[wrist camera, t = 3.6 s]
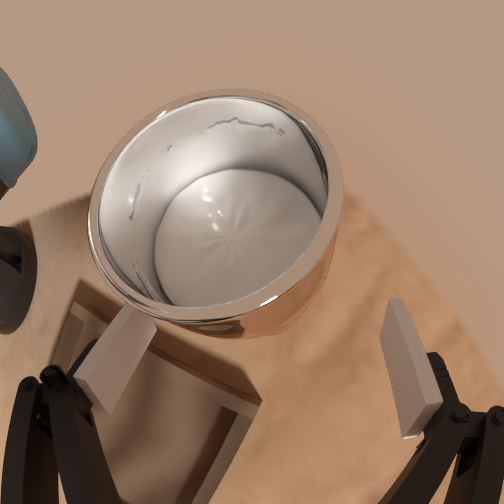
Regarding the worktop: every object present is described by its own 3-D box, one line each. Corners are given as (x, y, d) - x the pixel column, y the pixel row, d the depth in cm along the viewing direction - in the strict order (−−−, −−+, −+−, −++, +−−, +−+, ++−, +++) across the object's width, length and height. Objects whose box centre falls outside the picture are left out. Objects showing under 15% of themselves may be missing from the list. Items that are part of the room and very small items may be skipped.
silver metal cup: (283, 360, 19) (253, 401, 5) (199, 311, 21) (45, 241, 7) (330, 273, 20) (389, 129, 6) (247, 232, 22) (179, 69, 8)
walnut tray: (46, 443, 22) (32, 446, 20) (88, 305, 27) (74, 300, 25) (184, 541, 18) (176, 552, 15) (262, 400, 22) (259, 406, 20)
